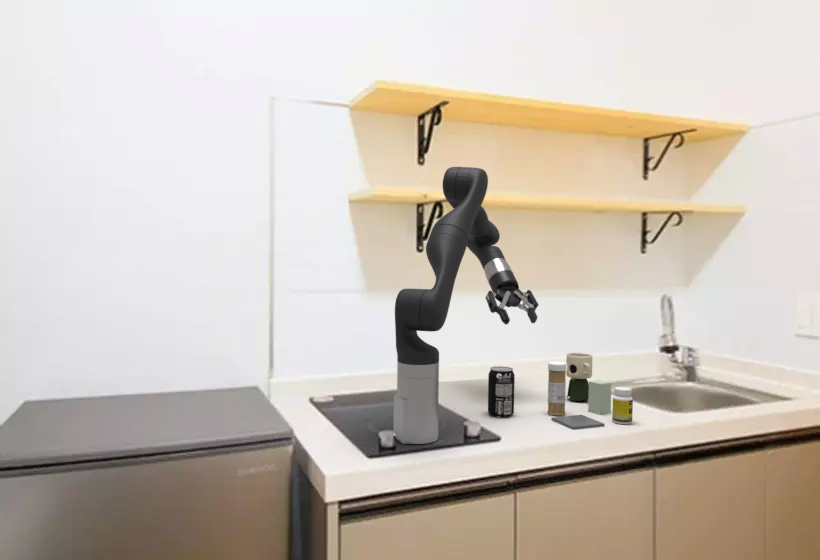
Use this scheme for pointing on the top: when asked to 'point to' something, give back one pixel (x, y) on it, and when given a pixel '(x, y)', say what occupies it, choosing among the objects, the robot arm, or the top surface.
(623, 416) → the supplement bottle
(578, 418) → the slate coaster
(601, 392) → the sage block
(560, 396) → the sprinkles bottle
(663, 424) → the top surface
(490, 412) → the beverage can
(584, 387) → the character mug
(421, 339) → the robot arm
